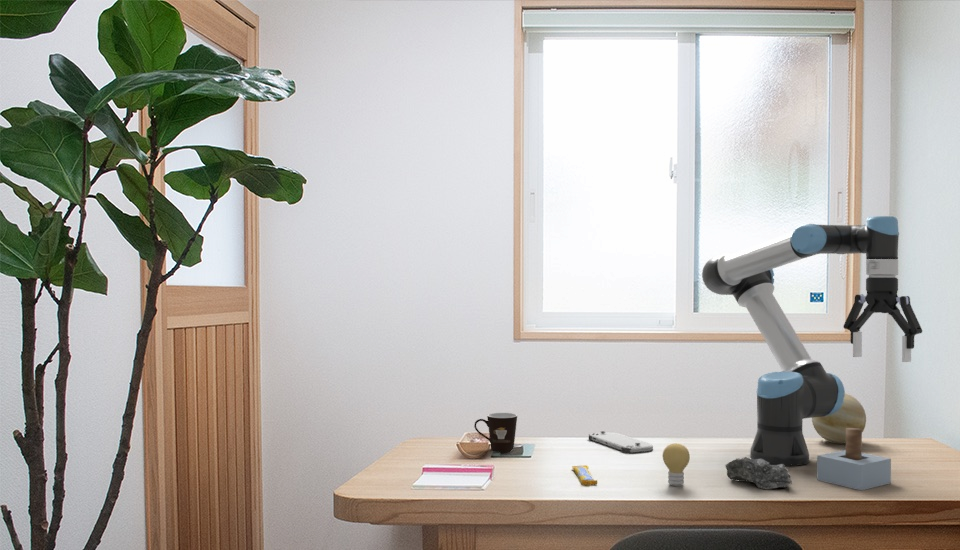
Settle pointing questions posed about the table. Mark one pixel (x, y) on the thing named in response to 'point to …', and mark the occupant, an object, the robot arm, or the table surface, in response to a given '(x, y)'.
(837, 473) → the socket
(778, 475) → the rock
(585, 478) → the candy bar
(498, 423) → the coffee mug
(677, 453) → the light bulb
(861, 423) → the decorative ball
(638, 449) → the handheld gaming console
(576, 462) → the table surface
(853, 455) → the peg
